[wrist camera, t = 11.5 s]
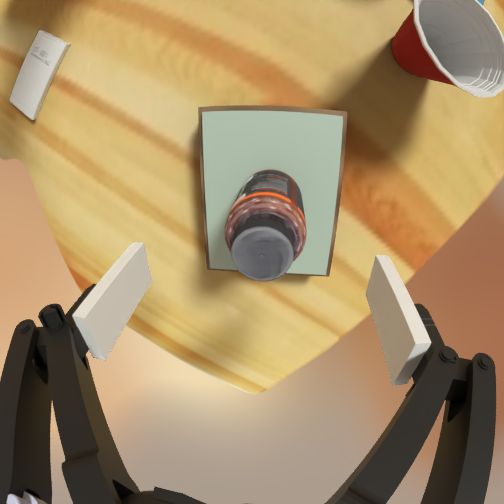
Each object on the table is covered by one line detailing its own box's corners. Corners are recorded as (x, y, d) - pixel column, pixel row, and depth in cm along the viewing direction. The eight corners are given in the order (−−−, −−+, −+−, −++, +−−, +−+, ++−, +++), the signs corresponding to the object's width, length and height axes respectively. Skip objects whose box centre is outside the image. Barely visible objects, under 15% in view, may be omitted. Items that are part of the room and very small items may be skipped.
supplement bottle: (231, 180, 27) (198, 228, 17) (289, 159, 26) (291, 196, 16) (254, 232, 30) (237, 302, 20) (309, 215, 28) (320, 280, 18)
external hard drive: (14, 98, 28) (45, 29, 23) (38, 118, 30) (72, 44, 25) (8, 100, 27) (38, 29, 21) (31, 120, 29) (65, 43, 23)
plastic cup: (465, 63, 21) (527, 60, 11) (419, 113, 26) (478, 123, 15) (404, -3, 18) (451, -37, 8) (352, 44, 23) (388, 14, 13)
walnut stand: (209, 106, 28) (196, 107, 24) (338, 110, 27) (348, 111, 23) (215, 250, 37) (206, 271, 33) (324, 256, 36) (329, 278, 32)
